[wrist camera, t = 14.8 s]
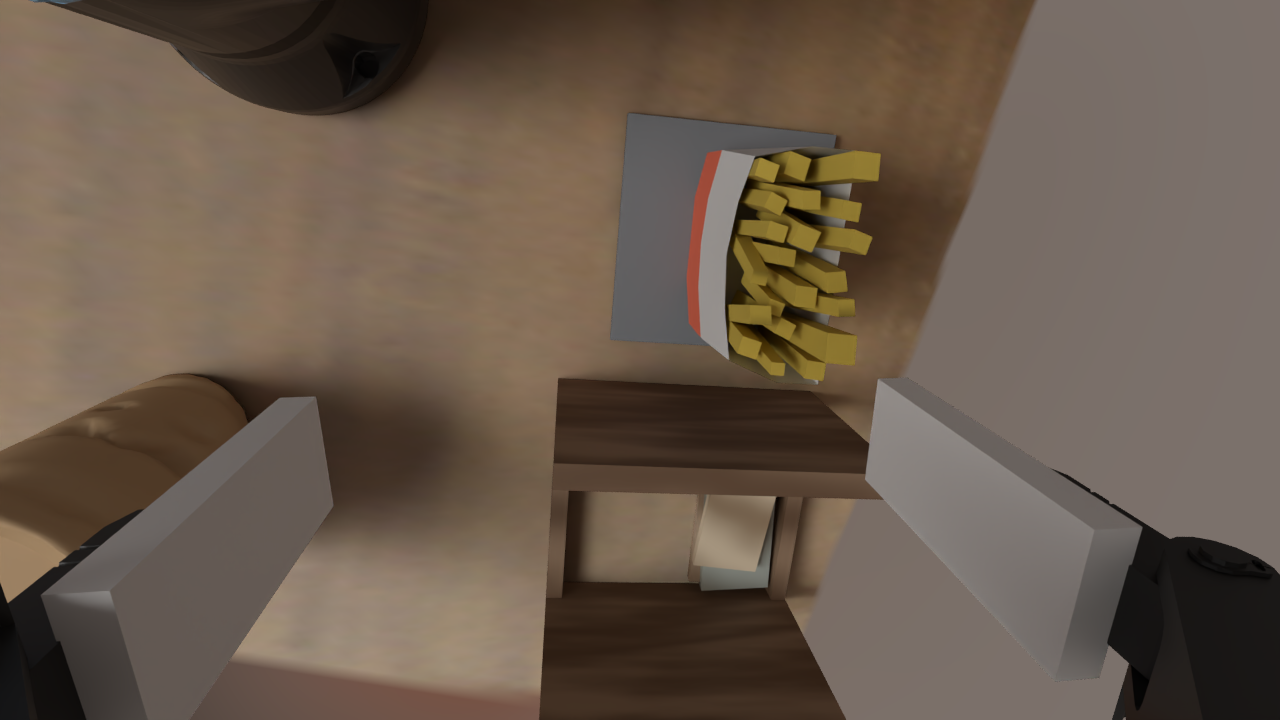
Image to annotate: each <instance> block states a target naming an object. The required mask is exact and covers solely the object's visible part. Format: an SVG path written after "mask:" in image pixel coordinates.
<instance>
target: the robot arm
mask: <svg viewBox="0 0 1280 720" xmlns="http://www.w3.org/2000/svg"><path fill="white" fill-rule="evenodd" d="M30 1H33V2H46V3H49V4H52V5H55V6H58V7H61V8H64V9H67V10H70V11H73V12H76V13H79V14H83V15H86V16H89V17H92V18H95V19H98V20H101V21H104V22H107V23H110V24H113V25H116V26H119V27H122V28H126V29H129V30H132V31H135V32H138V33H141V34H144V35H147V36H150V37H153V38H156V39H159V40H162V41H166V42H169V43H170V44H171V45H172V46H173V47H174V49H175V50H176V51H177V52H178V53H179V54H180V55H181V56H182V57H183V58H184V59H185V60H186V61H187V62H188V63H189V64H190V65H191V66H192V67H193V68H194V69H195V70H197V71H198V72H199V73H201V74H202V75H203V76H204V77H206V78H207V79H208V80H210V81H211V82H213V83H214V84H216V85H217V86H219V87H221V88H222V89H224V90H226V91H227V92H229V93H231V94H233V95H235V96H237V97H239V98H241V99H244V100H246V101H248V102H251V103H254V104H257V105H260V106H263V107H267V108H270V109H275V110H279V111H283V112H288V113H293V114H301V115H327V114H334V113H340V112H344V111H348V110H351V109H354V108H357V107H359V106H361V105H363V104H366V103H367V102H369V101H371V100H373V99H374V98H376V97H377V96H379V95H380V94H382V93H383V92H384V91H386V90H387V89H388V88H389V87H390V86H391V85H392V84H393V83H394V82H395V81H396V80H397V79H398V78H399V77H400V76H401V74H402V73H403V72H404V71H405V69H406V68H407V66H408V65H409V63H410V61H411V60H412V58H413V56H414V54H415V52H416V50H417V48H418V45H419V43H420V40H421V37H422V34H423V30H424V27H425V22H426V16H427V8H428V0H30ZM865 480H866V481H867V482H868V483H869V484H870V485H871V486H872V487H873V488H874V489H875V491H876V492H877V493H878V494H879V495H880V496H881V497H882V498H883V499H884V500H885V501H886V502H887V503H888V504H889V505H890V507H891V508H892V509H893V510H894V511H895V512H896V513H897V514H898V515H899V516H900V517H901V518H902V519H903V520H904V521H905V523H906V524H907V525H908V526H909V527H910V528H911V529H912V530H913V531H914V532H915V533H916V534H917V535H918V536H919V537H920V538H921V540H922V541H923V542H924V543H925V544H926V545H927V546H928V547H929V548H930V549H931V550H932V551H933V552H934V553H935V555H936V556H937V557H938V558H939V559H940V560H941V561H942V562H943V563H944V564H945V565H946V566H947V567H948V568H949V569H950V571H951V572H952V573H953V574H954V575H955V576H956V577H957V578H958V579H959V580H960V581H961V582H962V583H963V584H964V585H965V586H966V588H967V589H968V590H969V591H970V592H971V593H972V594H973V595H974V596H975V597H976V598H977V599H978V600H979V601H980V602H981V604H982V605H983V606H984V607H985V608H986V609H987V610H988V611H989V612H990V613H991V614H992V615H993V616H994V617H995V618H996V619H997V621H998V622H999V623H1000V624H1001V625H1002V626H1003V627H1004V628H1005V629H1006V630H1007V631H1008V632H1009V633H1010V634H1011V636H1012V637H1013V638H1014V639H1015V640H1016V641H1017V642H1018V643H1019V644H1020V645H1021V646H1022V647H1023V648H1024V649H1025V650H1026V652H1027V653H1028V654H1029V655H1030V656H1031V657H1032V658H1033V659H1034V660H1035V661H1036V662H1037V663H1038V664H1039V665H1040V666H1041V667H1042V669H1044V671H1045V672H1046V673H1047V674H1048V675H1049V676H1050V677H1051V678H1052V679H1053V680H1054V681H1055V682H1058V681H1059V682H1060V681H1071V680H1082V679H1093V678H1099V677H1100V674H1101V670H1102V667H1103V663H1104V660H1105V656H1106V653H1107V649H1108V646H1109V645H1110V646H1111V647H1112V648H1113V649H1114V650H1115V651H1116V652H1117V653H1119V654H1120V655H1121V656H1122V657H1123V658H1124V659H1125V660H1126V661H1127V662H1128V663H1129V666H1128V669H1127V672H1126V675H1125V679H1124V682H1123V685H1122V689H1121V692H1120V695H1119V699H1118V702H1117V705H1116V709H1115V712H1114V715H1113V718H1112V720H1123V718H1124V717H1126V720H1280V574H1279V573H1278V572H1277V571H1276V570H1275V569H1274V568H1273V567H1271V566H1270V565H1268V564H1267V563H1265V562H1264V561H1262V560H1261V559H1259V558H1258V557H1256V556H1253V555H1251V554H1249V553H1247V552H1244V551H1242V550H1240V549H1238V548H1235V547H1232V546H1229V545H1226V544H1222V543H1219V542H1216V541H1212V540H1207V539H1202V538H1195V537H1175V538H1172V539H1169V538H1167V537H1166V536H1164V535H1162V534H1161V533H1159V532H1158V531H1156V530H1154V529H1153V528H1151V527H1150V526H1148V525H1146V524H1145V523H1143V522H1142V521H1140V520H1138V519H1137V518H1135V517H1134V516H1132V515H1131V514H1129V513H1127V512H1125V511H1124V510H1123V509H1121V508H1119V507H1118V506H1116V505H1114V504H1109V501H1108V500H1106V499H1105V498H1103V497H1102V496H1100V495H1099V494H1097V493H1095V492H1091V491H1090V489H1089V488H1087V487H1086V486H1084V485H1083V484H1081V483H1079V482H1078V481H1076V480H1074V479H1073V478H1071V477H1070V476H1068V475H1066V474H1063V473H1061V472H1059V471H1056V470H1054V469H1051V468H1049V467H1047V466H1046V465H1044V464H1043V463H1041V462H1039V461H1038V460H1036V459H1035V458H1033V457H1032V456H1030V455H1028V454H1027V453H1025V452H1024V451H1022V450H1021V449H1019V448H1017V447H1016V446H1014V445H1013V444H1011V443H1010V442H1008V441H1006V440H1005V439H1003V438H1002V437H1000V436H999V435H997V434H995V433H994V432H992V431H991V430H989V429H987V428H986V427H984V426H983V425H981V424H980V423H978V422H976V421H975V420H973V419H972V418H970V417H969V416H967V415H965V414H964V413H962V412H961V411H959V410H958V409H956V408H954V407H953V406H951V405H950V404H948V403H946V402H945V401H943V400H942V399H940V398H939V397H937V396H935V395H934V394H932V393H931V392H929V391H928V390H926V389H925V388H923V387H921V386H920V385H918V384H917V383H915V382H914V381H912V380H910V379H909V378H883V379H878V383H877V390H876V398H875V406H874V413H873V421H872V429H871V436H870V444H869V452H868V460H867V467H866V475H865ZM333 506H334V505H333V499H332V492H331V486H330V480H329V474H328V467H327V461H326V455H325V449H324V442H323V436H322V430H321V424H320V417H319V411H318V405H317V399H316V397H285V398H279V399H278V400H276V401H275V402H274V403H273V404H272V405H270V406H269V407H268V408H267V409H265V410H264V411H263V412H262V413H261V414H259V415H258V416H257V417H256V418H255V419H253V420H252V421H251V422H250V423H249V424H247V425H246V426H245V427H244V428H242V429H241V430H240V431H239V432H238V433H236V434H235V435H234V436H233V437H232V438H230V439H229V440H228V441H227V442H226V443H224V444H223V445H222V446H221V447H219V448H218V449H217V450H216V451H215V452H213V453H212V454H211V455H210V456H209V457H207V458H206V459H205V460H204V461H202V462H201V463H200V464H199V465H198V466H196V467H195V468H194V469H193V470H192V471H190V472H189V473H188V474H187V475H186V476H184V477H183V478H182V479H181V480H179V481H178V482H177V483H176V484H175V485H173V486H172V487H171V488H170V489H169V490H167V491H166V492H165V493H164V494H163V495H161V496H160V497H159V498H158V499H156V500H155V501H154V502H153V503H152V504H150V505H149V506H148V507H147V508H146V509H139V510H136V511H134V512H132V513H130V514H129V515H127V516H125V517H123V518H121V519H119V520H117V521H115V522H113V523H111V524H109V525H107V526H105V527H103V528H102V529H101V530H100V531H98V532H97V533H96V534H95V535H93V536H92V537H91V538H90V539H88V540H87V541H86V542H84V543H83V544H82V545H81V546H80V549H79V550H74V551H73V552H72V553H71V554H69V555H68V556H67V557H66V558H64V559H63V560H62V561H60V562H59V566H58V567H53V568H52V569H50V570H49V571H48V572H47V573H45V574H44V575H43V576H42V577H40V578H39V579H38V580H36V581H35V582H34V583H33V584H31V585H30V586H29V587H28V588H26V589H25V590H24V591H23V592H21V593H20V594H19V595H18V596H16V597H15V598H14V599H12V600H11V601H10V602H9V603H7V600H6V597H5V594H4V591H3V589H2V586H1V583H0V720H189V719H190V718H191V716H192V715H193V713H194V712H195V711H196V709H197V707H198V706H199V705H200V703H201V702H202V700H203V698H204V697H205V695H206V694H207V693H208V691H209V690H210V688H211V687H212V685H213V684H214V682H215V681H216V679H217V678H218V677H219V675H220V674H221V672H222V671H223V669H224V668H225V666H226V665H227V663H228V662H229V660H230V659H231V657H232V656H233V654H234V653H235V651H236V650H237V648H238V647H239V645H240V644H241V642H242V641H243V639H244V638H245V637H246V635H247V634H248V632H249V631H250V629H251V628H252V626H253V625H254V623H255V622H256V620H257V619H258V617H259V616H260V614H261V613H262V611H263V610H264V608H265V607H266V605H267V604H268V602H269V601H270V599H271V598H272V596H273V595H274V594H275V592H276V591H277V589H278V588H279V586H280V585H281V583H282V582H283V580H284V579H285V577H286V576H287V574H288V573H289V571H290V570H291V568H292V567H293V565H294V564H295V562H296V561H297V559H298V558H299V556H300V555H301V554H302V552H303V551H304V549H305V548H306V546H307V545H308V543H309V542H310V540H311V539H312V537H313V536H314V534H315V533H316V531H317V530H318V528H319V527H320V525H321V524H322V522H323V521H324V519H325V518H326V516H327V515H328V514H329V512H330V511H331V509H332V508H333Z"/></svg>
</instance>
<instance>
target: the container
mask: <svg viewBox="0 0 1280 720" xmlns="http://www.w3.org/2000/svg"><path fill="white" fill-rule="evenodd" d="M247 424H248V421H247V419H246V416H245V413H244V410H243V408H242V407H241V406H240V405H239V404H238V403H237V402H236V401H235V399H234V397H233V396H232V395H231V394H230V393H229V392H228V391H227V390H226V389H224V388H223V387H222V386H221V385H219V384H217V383H214V382H212V381H210V380H209V379H207V378H204V377H197V376H194V375H191V374H174V375H166V376H163V377H160V378H157V379H155V380H152V381H149V382H145V383H142V384H140V385H138V386H136V387H134V388H131V389H129V390H127V391H125V392H123V393H122V394H120V395H117V396H115V397H112V398H110V399H108V400H106V401H104V402H102V403H100V404H98V405H96V406H94V407H92V408H89V409H87V410H85V411H83V412H81V413H79V414H77V415H75V416H73V417H71V418H69V419H67V420H65V421H62V422H60V423H58V424H56V425H54V426H52V427H50V428H48V429H46V430H44V431H42V432H40V433H38V434H36V435H34V436H32V437H30V438H28V439H25V440H23V441H22V442H19V443H17V444H15V445H13V446H11V447H8V448H6V449H4V450H2V451H0V583H1V586H2V589H3V591H4V594H5V597H6V600H7V603H9V602H10V601H11V600H12V599H14V598H15V597H16V596H18V595H19V594H20V593H21V592H23V591H24V590H25V589H26V588H28V587H29V586H30V585H31V584H33V583H34V582H35V581H36V580H38V579H39V578H40V577H42V576H43V575H44V574H45V573H47V572H48V571H49V570H50V569H52V568H53V567H58V566H59V562H60V561H62V560H63V559H64V558H66V557H67V556H68V555H69V554H71V553H72V552H73V551H74V550H79V549H80V546H81V545H82V544H83V543H84V542H86V541H87V540H88V539H90V538H91V537H92V536H93V535H95V534H96V533H97V532H98V531H100V530H101V529H102V528H103V527H105V526H107V525H109V524H111V523H113V522H115V521H117V520H119V519H121V518H123V517H125V516H127V515H129V514H130V513H132V512H134V511H136V510H139V509H146V508H147V507H148V506H149V505H150V504H152V503H153V502H154V501H155V500H156V499H158V498H159V497H160V496H161V495H163V494H164V493H165V492H166V491H167V490H169V489H170V488H171V487H172V486H173V485H175V484H176V483H177V482H178V481H179V480H181V479H182V478H183V477H184V476H186V475H187V474H188V473H189V472H190V471H192V470H193V469H194V468H195V467H196V466H198V465H199V464H200V463H201V462H202V461H204V460H205V459H206V458H207V457H209V456H210V455H211V454H212V453H213V452H215V451H216V450H217V449H218V448H219V447H221V446H222V445H223V444H224V443H226V442H227V441H228V440H229V439H230V438H232V437H233V436H234V435H235V434H236V433H238V432H239V431H240V430H241V429H242V428H244V427H245V426H246V425H247Z"/></svg>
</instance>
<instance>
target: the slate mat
mask: <svg viewBox="0 0 1280 720" xmlns="http://www.w3.org/2000/svg"><path fill="white" fill-rule="evenodd" d="M835 141H836V135H830V134H821V133H812V132H802V131H793V130H784V129H774V128H765V127H756V126H746V125H737V124H727V123H718V122H709V121H699V120H690V119H681V118H671V117H662V116H653V115H643V114H634V113H628V115H627V128H626V141H625V154H624V167H623V179H622V192H621V205H620V218H619V231H618V243H617V256H616V269H615V282H614V295H613V307H612V320H611V333H610V339H611V340H622V341H639V342H655V343H672V344H689V345H706V346H710V345H709V344H708V343H707V342H705V341H704V340H703V339H702V338H701V337H700V336H699V335H698V334H697V333H696V331H695V330H694V329H693V328H692V326H691V325H690V324H689V316H688V296H687V268H688V258H689V249H690V239H691V230H692V220H693V211H694V201H695V195H696V191H697V188H698V184H699V180H700V177H701V173H702V170H703V166H704V163H705V159H706V156H707V153H709V152H714V151H720V150H736V149H761V148H786V147H811V146H814V147H824V148H834V147H835Z"/></svg>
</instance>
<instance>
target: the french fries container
mask: <svg viewBox="0 0 1280 720" xmlns="http://www.w3.org/2000/svg"><path fill="white" fill-rule="evenodd" d="M880 156H881V154H879V153H871V152H863V151H854V150H844V149H834V148H824V147H814V146H811V147H786V148H761V149H736V150H720V151H714V152H709V153H707V156H706V159H705V163H704V166H703V170H702V173H701V177H700V180H699V184H698V188H697V191H696V195H695V201H694V211H693V220H692V230H691V239H690V249H689V258H688V268H687V296H688V316H689V324H690V325H691V326H692V328H693V329H694V330H695V331H696V333H697V334H698V335H699V336H700V337H701V338H702V339H703V340H704V341H705V342H707V343H708V344H709V345H710V346H712V347H713V348H714V349H715V350H717V351H718V352H719V353H720V354H722V355H723V356H724V357H725V358H727V359H728V360H729V361H731V362H734V363H736V364H738V365H740V366H742V367H744V368H747V369H749V370H751V371H753V372H755V373H757V374H759V375H762V376H764V377H766V378H768V379H770V380H772V381H774V382H777V383H793V384H813V385H818V380H819V381H823V379H824V373H825V367H826V363H832V364H843V365H855V355H856V344H857V336H856V335H853V334H850V333H847V332H844V331H841V330H838V329H836V328H833V327H830V326H828V321H829V315H832V316H837V317H849V316H855V301H854V299H850V298H845V297H839V296H834V295H833V293H837V292H847V291H848V289H847V280H846V272H845V271H844V270H842V269H840V268H838V262H839V256H840V251H841V252H848V253H854V254H861V255H866V254H867V251H868V248H869V246H870V243H871V240H872V238H873V237H871V236H869V235H867V234H864V233H862V232H860V231H858V230H855V229H846V228H844V227H845V221H846V220H848V221H853V222H858V221H859V216H860V211H861V206H862V203H857V202H852V201H849V198H850V192H851V186H852V183H860V182H874V181H878V178H879V167H880Z"/></svg>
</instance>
